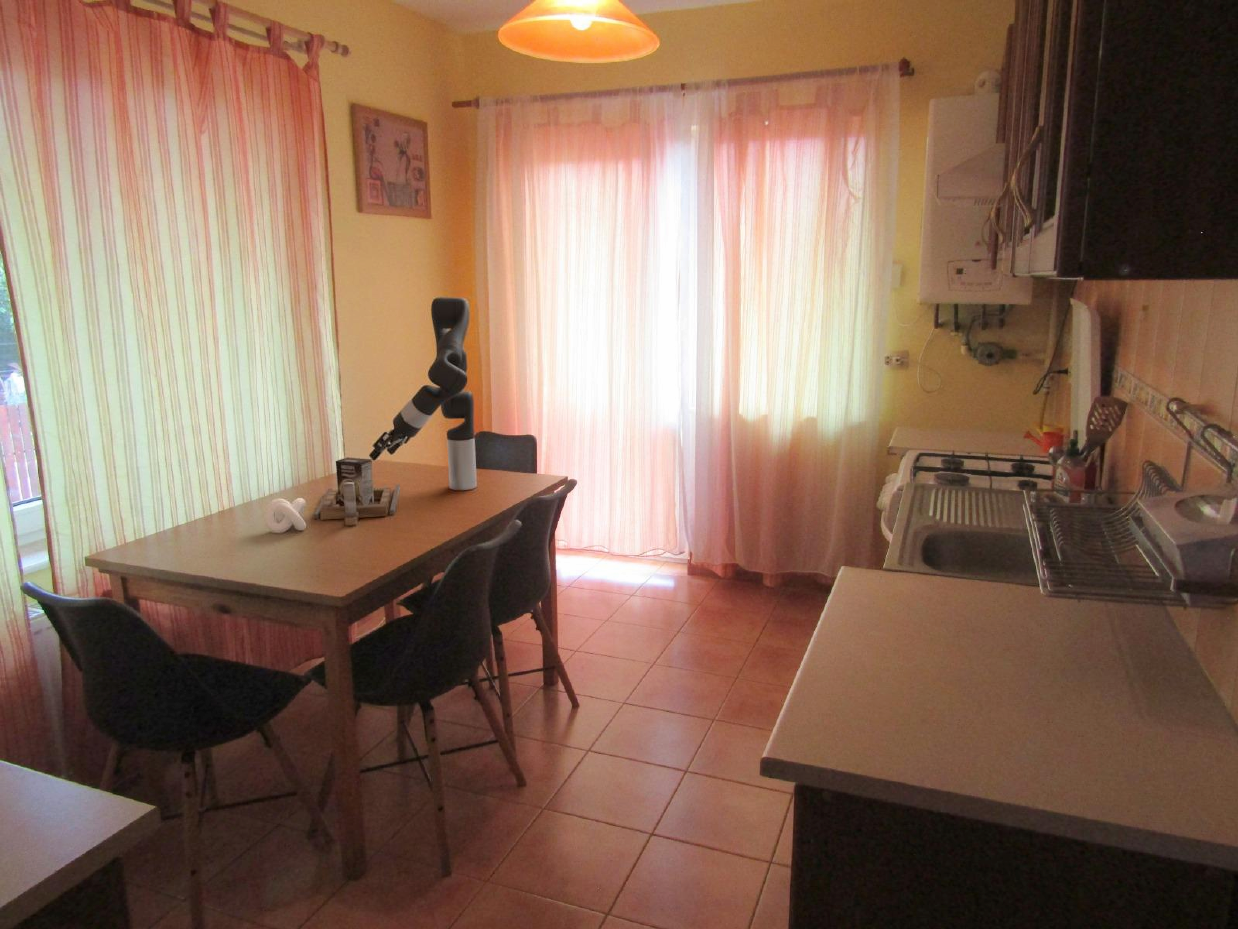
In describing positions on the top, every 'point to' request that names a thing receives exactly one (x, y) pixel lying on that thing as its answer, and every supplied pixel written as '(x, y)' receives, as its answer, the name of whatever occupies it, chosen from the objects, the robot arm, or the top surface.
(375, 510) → the frame
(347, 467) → the coffee box
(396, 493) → the guide rails
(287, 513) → the white knot sculpture
